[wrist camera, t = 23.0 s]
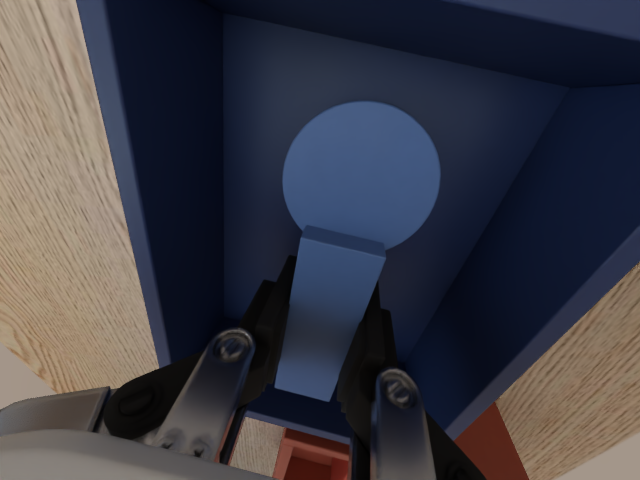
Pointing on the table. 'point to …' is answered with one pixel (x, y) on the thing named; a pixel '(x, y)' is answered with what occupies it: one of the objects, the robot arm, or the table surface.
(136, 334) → the table surface
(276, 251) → the blue bin
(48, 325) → the table surface
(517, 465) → the red bin
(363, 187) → the blue spoon
